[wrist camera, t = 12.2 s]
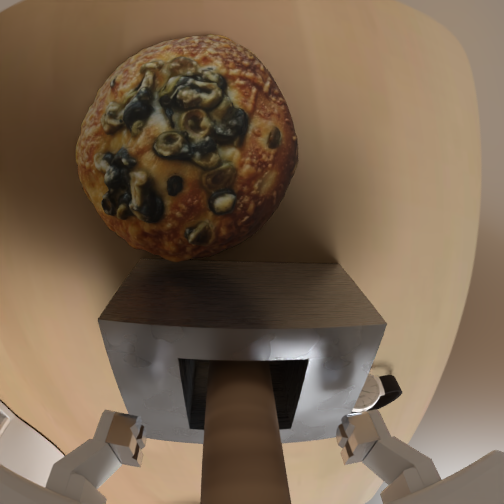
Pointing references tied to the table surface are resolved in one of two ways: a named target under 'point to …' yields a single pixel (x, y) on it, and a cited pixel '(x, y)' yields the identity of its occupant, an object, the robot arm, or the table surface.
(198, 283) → the socket block
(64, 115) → the table surface
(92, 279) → the table surface
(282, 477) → the peg
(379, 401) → the watch
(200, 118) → the bread roll
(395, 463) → the robot arm
